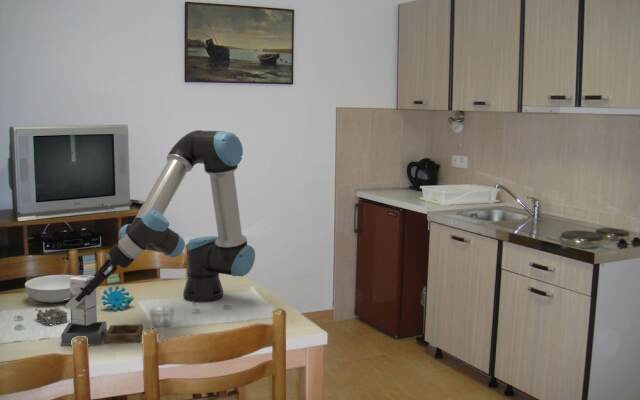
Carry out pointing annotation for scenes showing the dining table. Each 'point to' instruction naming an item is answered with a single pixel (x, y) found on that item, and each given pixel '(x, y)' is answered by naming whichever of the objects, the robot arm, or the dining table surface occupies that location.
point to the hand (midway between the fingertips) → (72, 303)
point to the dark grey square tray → (85, 333)
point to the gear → (116, 298)
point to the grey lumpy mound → (52, 316)
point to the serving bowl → (49, 288)
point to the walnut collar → (116, 337)
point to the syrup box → (83, 302)
